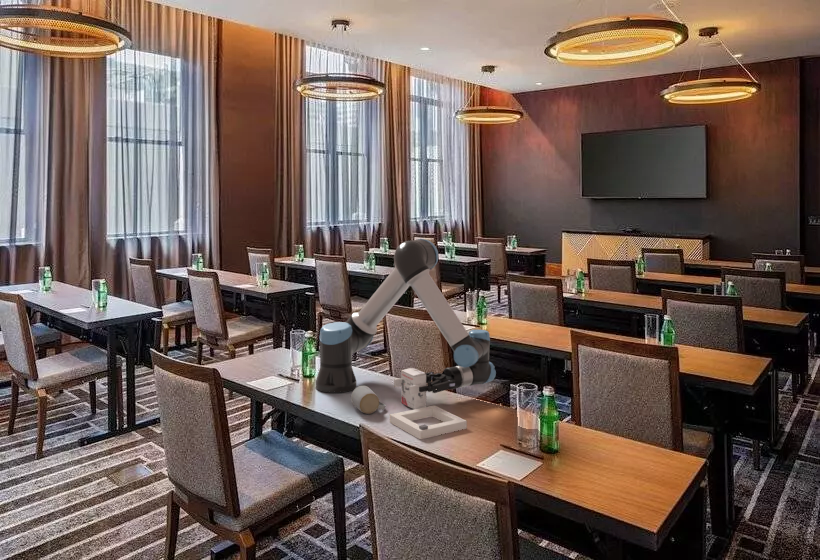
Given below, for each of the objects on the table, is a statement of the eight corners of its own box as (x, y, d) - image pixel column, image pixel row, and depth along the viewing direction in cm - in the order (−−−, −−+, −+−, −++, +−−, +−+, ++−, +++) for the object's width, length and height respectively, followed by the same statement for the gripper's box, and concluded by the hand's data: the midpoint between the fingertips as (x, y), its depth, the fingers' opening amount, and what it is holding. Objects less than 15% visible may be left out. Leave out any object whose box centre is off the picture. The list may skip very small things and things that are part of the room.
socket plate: (389, 422, 193) (389, 411, 193) (434, 412, 202) (434, 403, 202) (420, 439, 179) (420, 428, 179) (466, 428, 188) (466, 418, 188)
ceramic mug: (359, 416, 198) (360, 393, 197) (350, 408, 205) (350, 386, 205) (389, 412, 203) (390, 389, 202) (379, 405, 210) (380, 383, 209)
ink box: (400, 403, 210) (400, 369, 209) (412, 401, 213) (413, 367, 212) (414, 410, 203) (415, 375, 202) (427, 408, 206) (427, 373, 204)
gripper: (475, 395, 209) (419, 406, 196) (438, 380, 226) (385, 389, 214) (476, 374, 208) (420, 383, 195) (439, 360, 225) (385, 368, 213)
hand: (402, 386), depth 205 cm, fingers closed on ink box, 9 cm apart
